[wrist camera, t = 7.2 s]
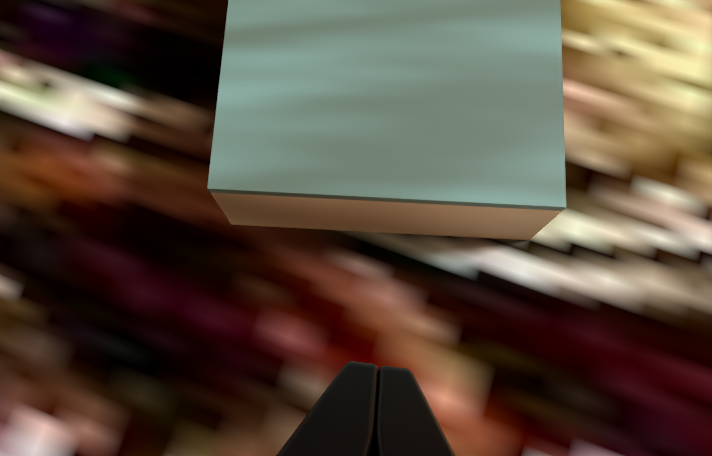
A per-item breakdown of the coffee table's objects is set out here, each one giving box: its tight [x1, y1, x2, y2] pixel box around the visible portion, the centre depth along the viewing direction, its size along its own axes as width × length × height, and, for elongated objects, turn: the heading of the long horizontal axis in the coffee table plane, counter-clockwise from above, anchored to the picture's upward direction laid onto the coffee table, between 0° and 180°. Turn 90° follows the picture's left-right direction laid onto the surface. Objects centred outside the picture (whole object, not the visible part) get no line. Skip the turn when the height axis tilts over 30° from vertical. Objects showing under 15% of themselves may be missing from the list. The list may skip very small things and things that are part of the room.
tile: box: [207, 0, 566, 240], centre depth 18 cm, size 4×8×9 cm
